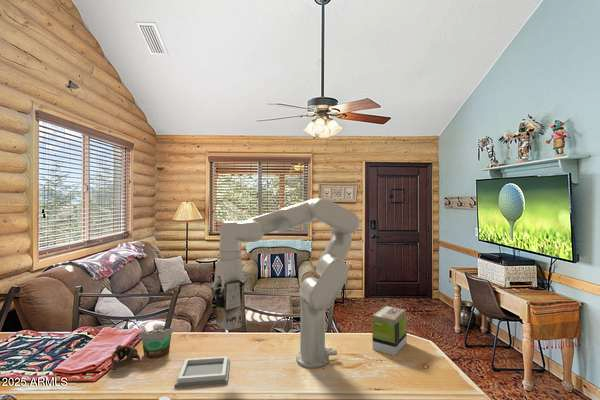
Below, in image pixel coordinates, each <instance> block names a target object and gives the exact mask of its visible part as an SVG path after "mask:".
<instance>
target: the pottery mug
mask: <svg viewBox="0 0 600 400" xmlns="http://www.w3.org/2000/svg"><path fill="white" fill-rule="evenodd" d="M115 356H117V358H118V360H115ZM134 359H137V361H138V362H141V357H140V355H139V353H138V349H137V348H135V347H133V346H131V345H125V344H124V345H121V344H119V345H117V346H116V347H115V350H114V351H113V352H112V354H111V355H110V362H111V363H110V368H111V370H112V371H115V370H118V369H122V368H124V367H126V366H127V365H129V364H131V363H134V362H135V361H134Z"/></svg>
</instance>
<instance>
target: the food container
mask: <svg viewBox="0 0 600 400" xmlns="http://www.w3.org/2000/svg"><path fill="white" fill-rule="evenodd" d="M173 333H174V328H173V326H171V327H169V328H161V329H160V328H158V329H157V328H156V329H154V330H150V331H145V332H144V331H143V330H140V333H139V337H140V338H141V343H142V349H143V350H142V351H143V357H144V358H146V359H149V360H151V359H152V360H154V359H160V358H163V357H165V356H167V355H168V354H169V353H170V348H171V340H172V339H171V338H172V334H173Z"/></svg>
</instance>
